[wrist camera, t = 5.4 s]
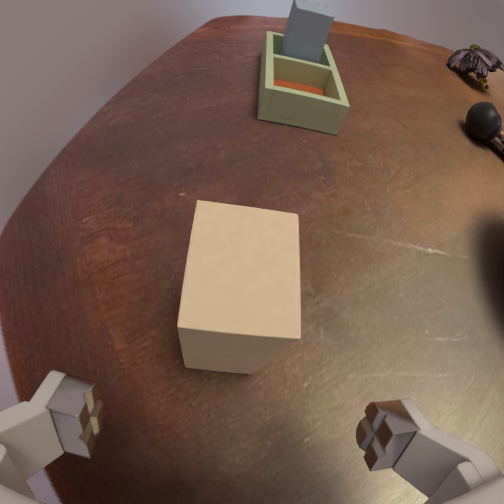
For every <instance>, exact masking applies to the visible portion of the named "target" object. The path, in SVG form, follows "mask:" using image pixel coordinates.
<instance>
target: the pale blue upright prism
mask: <svg viewBox="0 0 504 504" xmlns="http://www.w3.org/2000/svg"><path fill="white" fill-rule="evenodd" d="M333 19H334V17H333V15H332V13H331V12H330V10H329V8H328V7H327V6H325V5H322V4H318V3H315V2H310V1H307V0H293V4H292V8H291V11H290V15H289V18H288V22H287V26H286V30H285V33H284V37H283V41H282V44H281V48H280V52H279V55H282V56H287V57H292V58H296V59H301V60H305V61H309V62H314V63H318V62H319V59H320V56H321V53H322V51H323V48H324V45H325V42H326V39H327V36H328V33H329V31H330V28H331V25H332V22H333Z"/></svg>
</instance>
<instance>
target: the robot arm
mask: <svg viewBox="0 0 504 504" xmlns="http://www.w3.org/2000/svg"><path fill="white" fill-rule="evenodd" d="M100 394H101V390H100V384H99V383H98V382H95V381H91V380H87V379H84V378H80V377H76V376H73V375H69V374H64V373H61V372H58V371H55V370H53V371H51V372H49V374H48V375H47V377H46V378H45V379H44V381H43V382H42V384H41V385H40V387H39V388H38V390H37V391H36V393H35V394H34V396H33V397H32V399H31V400H30V402H26V401H24V402H22V403H19V404H17V405H15V406H12V407H10V408H7V409H5V410H3V411H0V504H45V503H42V502H40V501H38V500H35V497H34V495H33V493H32V491H31V490H30V488H29V487H28V485H27V484H26V482H25V480H27V479H28V478H30V477H31V476H33V475H34V474H35V473H37V472H38V471H40V470H41V469H42V468H44V467H45V466H47V465H48V464H49V463H51V462H52V461H54V460H55V459H56V458H58V457H59V456H60V455H62V454H63V453H64V452H68V453H71V454H75V455H79V456H83V457H87V458H91V455H92V452H93V449H94V447H95V444H96V440H95V436H94V435H96V434H97V433H99V432H100V430H101V427H102V424H103V417H104V409H103V403H102V402H101V401H100V400H99V399H98V398H99V396H100ZM365 414H366V417H364V418H363V419H362V420H361V421H360V422H359V424H358V426H357V429H356V440H357V443H358V446H359V448H361V449H362V450H364V451H365V455H364V459H365V461H366V463H367V466H368V468H369V470H370V471H377V470H383V469H389V468H392V469H393V470H394V471H395V472H396V473H398V474H399V475H400V476H401V477H403V478H404V479H405V480H406V481H408V482H409V483H410V484H411V485H413V486H414V487H415V488H417V489H418V490H419V491H421V492H422V493H423V494H424V495H426V496H427V497H428V498H429V499H428V500H427V501H426V502H425V503H424V504H504V474H502V472H501V471H500V470H499V468H498V467H497V466H496V464H495V463H494V462H493V460H492V459H491V458H490V456H489V455H488V454H487V453H486V452H484V451H482V450H480V449H478V448H476V447H474V446H472V445H470V444H468V443H466V442H464V441H462V440H460V439H458V438H456V437H454V436H452V435H450V434H448V433H446V432H445V431H443V430H441V429H439V428H437V427H434V428H433V427H432V426H431V424H430V423H429V422H428V420H427V419H426V418H425V416H424V415H423V413H422V412H421V411H420V409H419V408H418V406H417V405H416V404H415V402H414V401H413V400H412V399H410V398H406V399H398V400H390V401H380V402H371V403H370V404H369V405H367V407H366V409H365Z"/></svg>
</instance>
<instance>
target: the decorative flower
mask: <svg viewBox="0 0 504 504" xmlns="http://www.w3.org/2000/svg"><path fill="white" fill-rule="evenodd" d="M459 60H460V63H459V67H460V71H461V75H462V74H466V73H467V74H468V73H471V72H474V73H475V74H476V75H477V76H476V78H477V79H478V80H479V79H480V81H479V84H481V85H483V87H482V88H481V90H482V91H485V88H486V89H489V86H488V85H486V86H485V84H484V83H487V80H486V79H485V78H486V77H487V73H488V71H490V72H495V71H496V69H497V68H499V69H501V70H503V68H502V67H501V65H503V64H502V62H501V61H500V60H499V59H498V58H497V57H496V56H495V55H494V54H492V53H490V52H489V51H487V50H484V49H481V48H480V47H479V46H478V45H472V46H471V47H470V49H462V50H459V51H457V52H455V53H454V54H453V55H452V56H451V57H450V58H449V59H448V64H447V66H448V68H449V69H451V68H452V67H454V66H455V65H456V64H457V63H458V62H459ZM503 66H504V65H503ZM503 71H504V70H503ZM483 78H484V80H483Z"/></svg>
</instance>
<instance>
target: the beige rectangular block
mask: <svg viewBox="0 0 504 504" xmlns="http://www.w3.org/2000/svg"><path fill="white" fill-rule="evenodd" d="M177 328H178V333H179V339H180V344H181V349H182V355H183V360H184V365H185V368H192V369H200V370H209V371H219V372H230V373H242V374H254V373H255V372H257V371H258V370H260V369H261V368H262V367H264V366H265V365H266V364H268V363H269V362H271V361H272V360H273V359H275V358H276V357H277V356H279V355H280V354H281V353H283V352H284V351H285V350H287V349H288V348H289V347H290V346H292V345H293V344H294V343H296V342H297V341H298V340H299V339H300V338H301V307H300V253H299V223H298V214H293V213H287V212H280V211H273V210H266V209H260V208H253V207H245V206H238V205H231V204H223V203H216V202H208V201H200V200H198V201H197V204H196V209H195V214H194V220H193V226H192V231H191V237H190V243H189V249H188V255H187V261H186V268H185V274H184V281H183V287H182V294H181V301H180V308H179V316H178V323H177Z"/></svg>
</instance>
